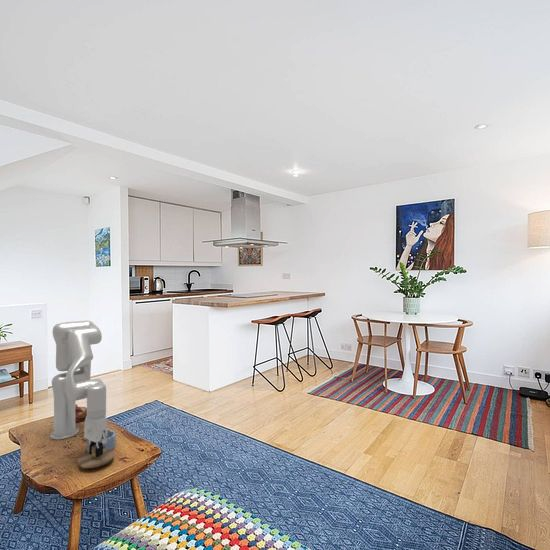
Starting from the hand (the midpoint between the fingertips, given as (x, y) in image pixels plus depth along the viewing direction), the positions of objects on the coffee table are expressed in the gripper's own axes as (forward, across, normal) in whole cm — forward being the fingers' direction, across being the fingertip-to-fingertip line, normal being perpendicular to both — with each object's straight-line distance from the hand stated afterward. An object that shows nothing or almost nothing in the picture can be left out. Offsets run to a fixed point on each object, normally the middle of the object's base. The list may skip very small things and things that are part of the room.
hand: (96, 454), depth 152 cm
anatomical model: (+6, -53, +24) cm, 58 cm away
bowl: (+5, -10, +10) cm, 15 cm away
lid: (+2, 0, 0) cm, 2 cm away
